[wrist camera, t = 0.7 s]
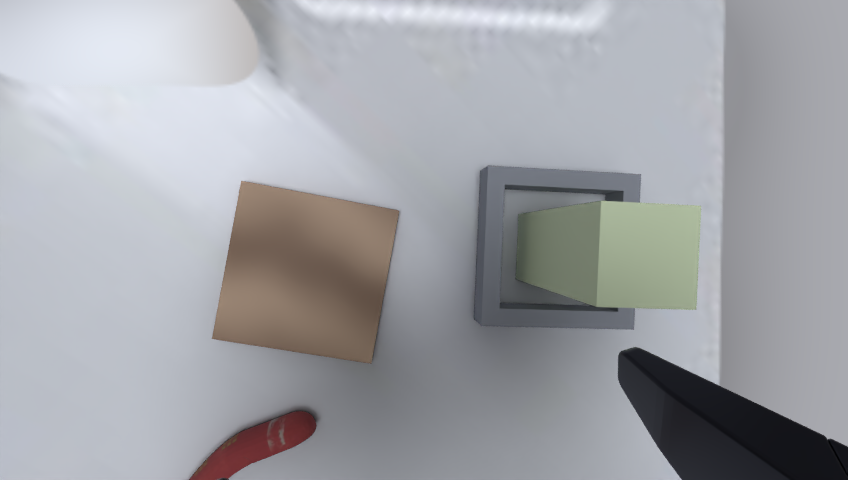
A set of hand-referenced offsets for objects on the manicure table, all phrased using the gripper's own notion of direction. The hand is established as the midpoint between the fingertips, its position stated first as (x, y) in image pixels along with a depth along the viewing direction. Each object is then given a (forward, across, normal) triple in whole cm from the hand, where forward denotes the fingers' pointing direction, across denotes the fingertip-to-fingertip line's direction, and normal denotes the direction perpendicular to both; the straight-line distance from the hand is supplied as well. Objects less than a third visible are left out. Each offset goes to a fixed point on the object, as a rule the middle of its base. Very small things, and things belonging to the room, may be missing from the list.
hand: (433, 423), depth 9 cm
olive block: (+15, -10, +6) cm, 19 cm away
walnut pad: (+16, +5, +4) cm, 17 cm away
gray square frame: (+15, -10, +6) cm, 19 cm away
